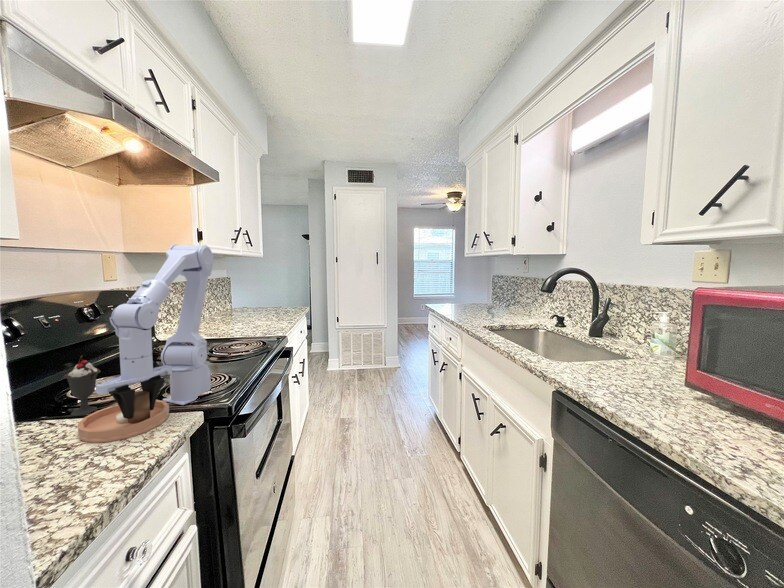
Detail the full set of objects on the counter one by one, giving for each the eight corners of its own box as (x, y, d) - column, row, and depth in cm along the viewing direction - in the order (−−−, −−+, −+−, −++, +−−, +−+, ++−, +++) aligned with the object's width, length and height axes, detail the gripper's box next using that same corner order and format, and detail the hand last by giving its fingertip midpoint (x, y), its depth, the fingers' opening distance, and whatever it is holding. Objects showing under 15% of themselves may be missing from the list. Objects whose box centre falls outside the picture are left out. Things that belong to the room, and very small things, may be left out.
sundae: (79, 419, 75) (75, 358, 74) (58, 415, 76) (54, 356, 75) (109, 407, 81) (106, 351, 80) (89, 404, 83) (86, 350, 81)
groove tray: (140, 405, 83) (140, 396, 83) (183, 414, 78) (183, 405, 78) (61, 434, 68) (60, 423, 68) (108, 449, 63) (107, 437, 62)
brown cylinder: (143, 414, 74) (141, 389, 73) (154, 416, 72) (153, 392, 72) (123, 421, 70) (122, 396, 69) (135, 424, 69) (134, 398, 68)
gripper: (157, 346, 78) (159, 398, 79) (85, 362, 64) (89, 424, 65) (177, 349, 76) (179, 402, 77) (107, 366, 62) (110, 430, 63)
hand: (139, 413), depth 71 cm, fingers closed on brown cylinder, 4 cm apart
